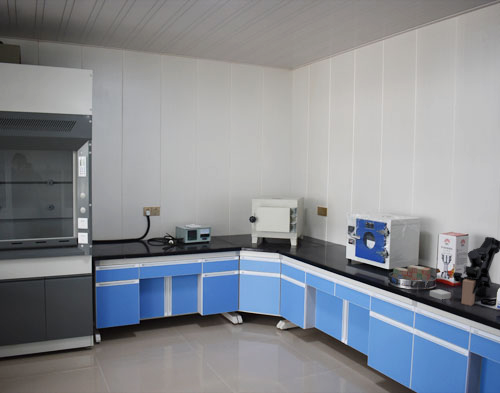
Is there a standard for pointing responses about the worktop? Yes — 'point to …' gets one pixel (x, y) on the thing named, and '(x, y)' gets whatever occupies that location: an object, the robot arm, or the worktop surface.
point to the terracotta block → (468, 292)
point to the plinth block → (440, 294)
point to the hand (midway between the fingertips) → (467, 292)
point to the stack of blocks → (413, 273)
